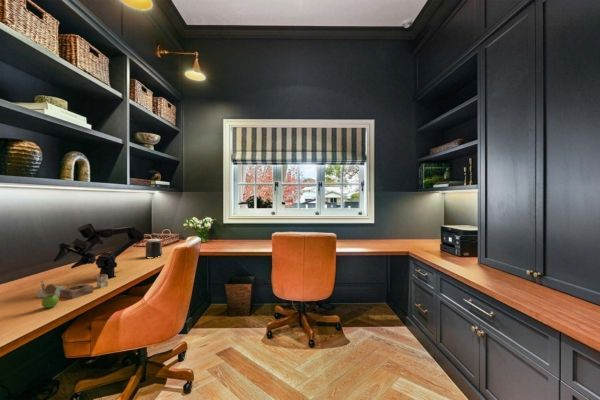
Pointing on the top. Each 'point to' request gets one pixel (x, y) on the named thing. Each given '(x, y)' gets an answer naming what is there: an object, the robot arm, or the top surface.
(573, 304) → the top surface
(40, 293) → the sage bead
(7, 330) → the top surface
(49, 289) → the snail figurine
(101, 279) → the peg
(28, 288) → the top surface
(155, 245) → the jar
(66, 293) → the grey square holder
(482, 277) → the top surface
